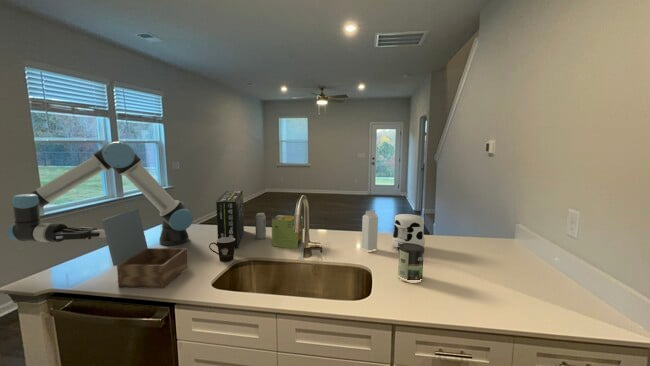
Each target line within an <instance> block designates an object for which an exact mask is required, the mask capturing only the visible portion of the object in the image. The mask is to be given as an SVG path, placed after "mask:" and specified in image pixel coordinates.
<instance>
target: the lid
mask: <svg viewBox="0 0 650 366" xmlns="http://www.w3.org/2000/svg"><path fill="white" fill-rule="evenodd" d="M101 223H102V226H103V230H104V231H105V235H106V241H107V242H106V243H107V245H108V251H109V253H110V254H109V255H110V257H111V262H112V266H113V267H117V265H118V264H120V263H122V262H124V261H125V260H127V259H129V258H131V257H132V256H134V255H136V254H138V253H139V252H141V251H143V250H145V249H146V248H149V246H148V243H147V240H146V236H145V232H144V227H143V222H142V218H141V214H140V210H139V208H135V209H134V208H133V209H131V210H127V211H125V212H121V213H119V214H116V215H113V216H109V217H107V218H104V219H101Z"/></svg>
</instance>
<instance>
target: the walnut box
mask: <svg viewBox="0 0 650 366" xmlns="http://www.w3.org/2000/svg"><path fill="white" fill-rule="evenodd" d="M188 260H189V259H188V248H187V247H185V248H181V247H178V248H177V247H176V248H175V247H171V248H170V247H148V248H146V249H145V250H143V251H141V252H139V253H138V254H136V255H134V256H132V257H131V258H129V259H127V260H125V261H124V262H122V263H120V264H118V265H117V266H116V271H117V283H118V284H117V286H118V288H121V289H122V288H129V289H130V288H131V289H132V288H136V289H165V288H167V287H168V286H169V285H170V284H171V283H172V282H174V281H175V279H177V278H178V277H179V276H181V274H182V273H184V272H185V271H186V270H187V269H189V263H188Z"/></svg>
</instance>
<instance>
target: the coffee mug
mask: <svg viewBox="0 0 650 366" xmlns="http://www.w3.org/2000/svg"><path fill="white" fill-rule="evenodd" d="M211 245H216V247H217V251H218V252H217V251H215V250H213V249H212V248H211ZM234 247H235V238H232V237H224V238H220V239H218V238H217V239H216V242H211V243H209V245H208V248H209V250H210V251H211V252H213V253H215V254H216V255H218V258H219V262H221V263H230V262H232V261H233V260H234V258H235V257H234V256H235V249H234Z"/></svg>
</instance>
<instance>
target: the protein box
mask: <svg viewBox="0 0 650 366" xmlns="http://www.w3.org/2000/svg"><path fill="white" fill-rule="evenodd" d="M294 216H295V215H281V214H278V215H276V216H274V217H273V218H271V246H272V247H283V248H290V249H291V248H292V249H298V248H300V246H301V245H302V244H303V243H304V240H303V239H304V238H303V237H304V235H303V232H304V231H303V229H304V226H303V223H304V217H303V216H301V222H300V228H301V231H300V232H299V233H294V230H293V226H294Z"/></svg>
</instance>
